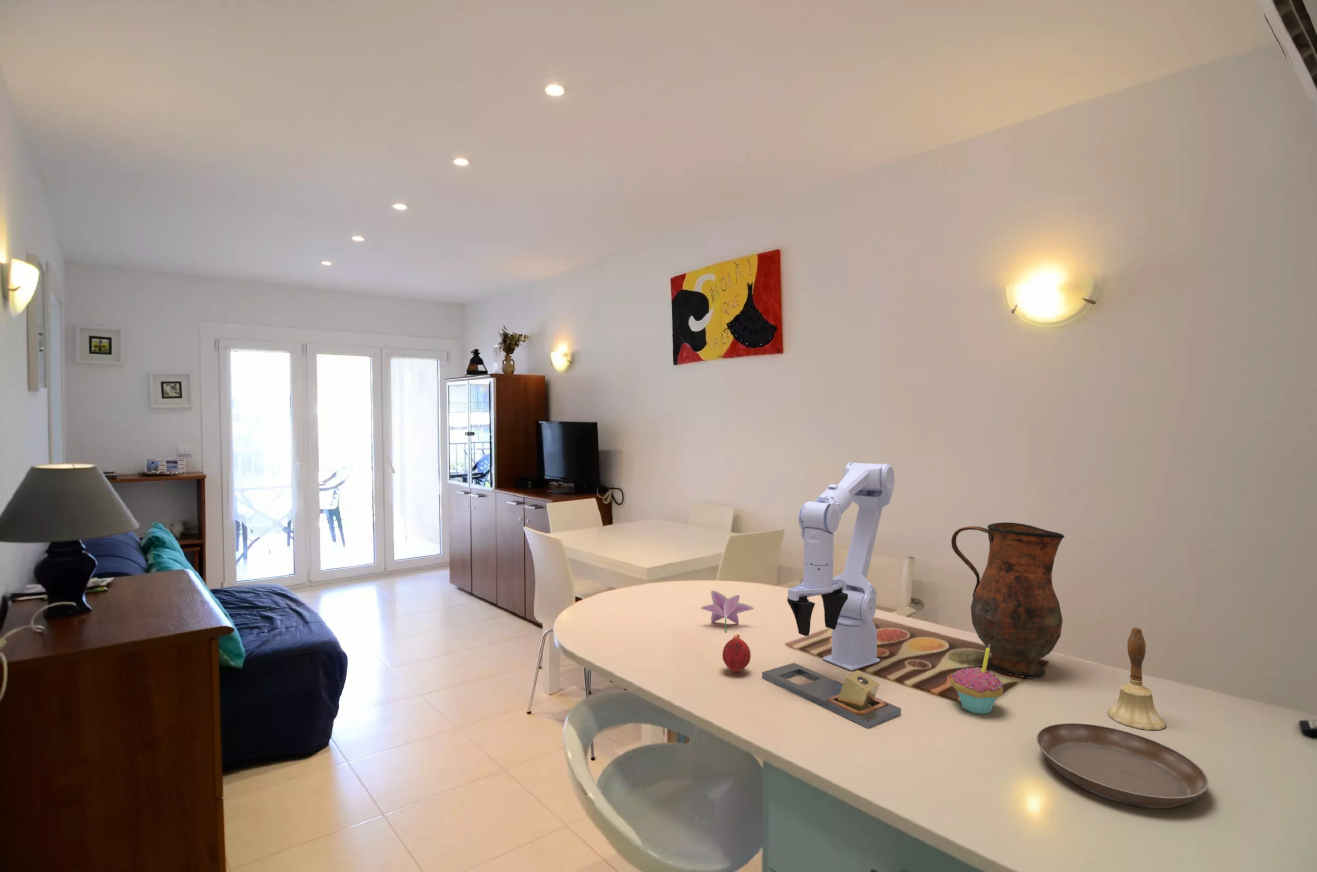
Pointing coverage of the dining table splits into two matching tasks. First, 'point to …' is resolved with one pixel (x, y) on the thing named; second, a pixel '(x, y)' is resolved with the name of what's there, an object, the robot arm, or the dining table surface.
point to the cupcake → (977, 687)
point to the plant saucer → (1122, 765)
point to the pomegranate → (736, 654)
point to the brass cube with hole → (858, 691)
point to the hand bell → (1136, 692)
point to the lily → (725, 608)
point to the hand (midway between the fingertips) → (817, 631)
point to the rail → (829, 695)
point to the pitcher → (1016, 597)
